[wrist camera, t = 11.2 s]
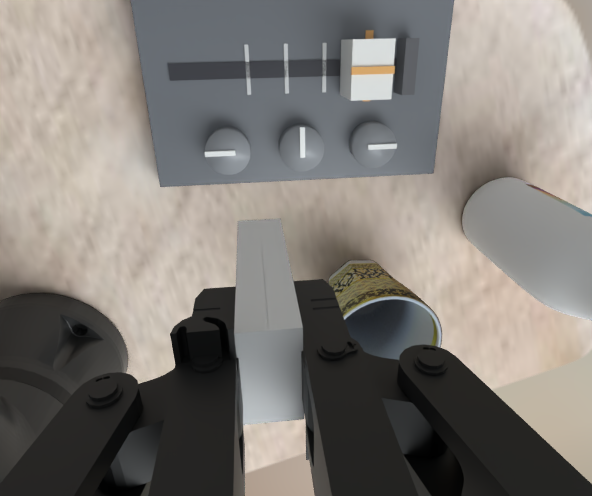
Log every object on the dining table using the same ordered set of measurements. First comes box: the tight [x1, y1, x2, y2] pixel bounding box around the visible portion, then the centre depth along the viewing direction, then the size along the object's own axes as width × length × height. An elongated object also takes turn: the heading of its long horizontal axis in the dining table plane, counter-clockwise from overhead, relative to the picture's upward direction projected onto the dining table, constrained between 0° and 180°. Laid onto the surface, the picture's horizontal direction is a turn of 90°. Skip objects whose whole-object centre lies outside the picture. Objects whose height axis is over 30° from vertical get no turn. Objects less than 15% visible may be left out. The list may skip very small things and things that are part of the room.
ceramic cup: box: [329, 260, 442, 360], centre depth 42 cm, size 13×10×10 cm
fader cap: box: [340, 38, 396, 101], centre depth 32 cm, size 3×4×4 cm
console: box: [131, 0, 454, 187], centre depth 35 cm, size 24×16×4 cm, turn 91°
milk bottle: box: [462, 177, 592, 321], centre depth 35 cm, size 8×8×20 cm
